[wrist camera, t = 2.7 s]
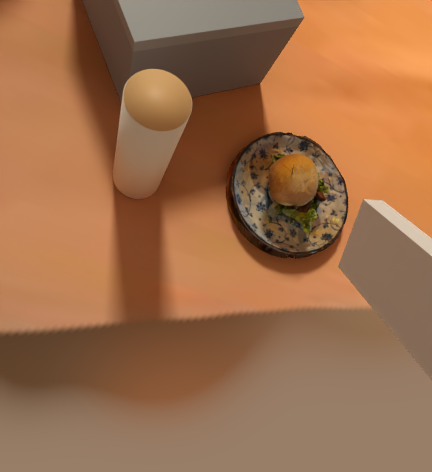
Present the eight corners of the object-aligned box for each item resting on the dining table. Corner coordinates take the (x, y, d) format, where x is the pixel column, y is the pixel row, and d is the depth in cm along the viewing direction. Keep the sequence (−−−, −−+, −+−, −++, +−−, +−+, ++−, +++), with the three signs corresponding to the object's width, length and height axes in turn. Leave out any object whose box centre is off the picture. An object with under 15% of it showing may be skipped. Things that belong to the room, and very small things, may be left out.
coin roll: (121, 204, 34) (137, 138, 22) (105, 161, 34) (112, 74, 23) (166, 191, 35) (202, 122, 24) (150, 149, 35) (178, 63, 24)
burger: (326, 275, 38) (379, 262, 31) (209, 233, 36) (238, 208, 29) (347, 165, 42) (398, 130, 35) (242, 120, 39) (275, 73, 32)
